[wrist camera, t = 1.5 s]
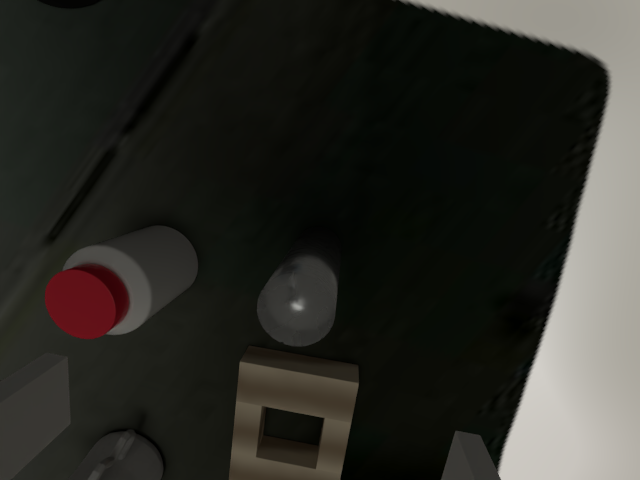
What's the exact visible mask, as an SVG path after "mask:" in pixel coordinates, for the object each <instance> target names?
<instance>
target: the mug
mask: <svg viewBox="0 0 640 480" xmlns="http://www.w3.org/2000/svg"><path fill="white" fill-rule="evenodd" d="M163 469H164V468H163V462H162V458H161V455H160V453H159V451H158V450H157V448H156V447H155V446H154V445H153V444H152V443H151V442H150V441H149V440H148V439H146V438H145V437H143V436H141V435H139V434H136V433H135V431H134V430H127V431H126V432H124V431H120V432H114V433H110V434H108V435H106V436H104V437H102V438H101V439H100V440H99V441H98V442H97V443H96V444H95V445H94V446H93V448H92V449H91V450H90V451H89V453H88V454H87V456H86V457H85V458H84V460H83V461H82V463H81V464H80V465H79V467H78V468H77V469H76V471H75V472H74V473H73V474H72V475H71V476H70V478H69V479H68V480H161V478H162V475H163Z"/></svg>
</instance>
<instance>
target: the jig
mask: <svg viewBox="0 0 640 480" xmlns="http://www.w3.org/2000/svg"><path fill="white" fill-rule="evenodd" d="M358 385H359V373H358V365H355V364H350V363H344V362H338V361H333V360H327V359H322V358H316V357H310V356H305V355H299V354H294V353H288V352H283V351H277V350H271V349H266V348H260V347H255V346H248V348H247V350H246V352H245V354H244V355H243V357H242V359H241V361H240V367H239V378H238V389H237V399H236V410H235V421H234V432H233V442H232V453H231V464H230V474H229V480H340V477H341V472H342V467H343V462H344V457H345V452H346V446H347V441H348V436H349V431H350V426H351V421H352V416H353V411H354V406H355V400H356V395H357V390H358ZM266 407H270V408H275V409H280V410H286V411H291V412H296V413H302V414H307V415H312V416H317V417H323V424H322V430H321V435H320V441H319V446H317V445H312V444H307V443H301V442H296V441H291V440H286V439H281V438H276V437H270V436H265V435H263V431H264V422H265V414H266Z"/></svg>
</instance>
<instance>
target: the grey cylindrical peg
mask: <svg viewBox="0 0 640 480" xmlns="http://www.w3.org/2000/svg"><path fill="white" fill-rule="evenodd" d="M341 252H342V247H341V242H340V240H339V238H338V236H337V235H336V234H335V233H334V232H333V231H331V230H330V229H328V228H325V227H320V226H316V227H311V228H308V229H306V230H305V231H304V232H302V233H301V235H300V236H299V237H298V239H297V240H296V242H295V243H294V245H293V246H292V247H291V249H290V250H289V252H288V253H287V255H286V256H285V258H284V259H283V261H282V262H281V263H280V265H279V266H278V268H277V269H276V271H275V272H274V274H273V275H272V276H271V278H270V279H269V281H268V282H267V284H266V285H265V287H264V288H263V290H262V291H261V293H260V295H259V298H258V303H257V313H258V317H259V320H260V323H261V325H262V326H263V328H264V329H265V331H266V332H267V333H268V334H269V335H270V336H271V337H273V338H274V339H275V340H277V341H279V342H281V343H284V344H286V345H290V346H306V345H310V344H313V343H315V342H317V341H319V340H321V339H322V338H323V337H324V336H325V335H326V334H327V333H328V332H329V331H330V329H331V327H332V325H333V322H334V318H335V310H336V300H337V291H338V281H339V271H340V262H341Z"/></svg>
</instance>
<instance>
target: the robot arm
mask: <svg viewBox="0 0 640 480" xmlns="http://www.w3.org/2000/svg"><path fill="white" fill-rule="evenodd" d="M38 1H40V2H42V3H45V4H48V5H51V6H55V7H62V8H76V7H82V6H86V5H90V4H92V3H95V2H97V1H99V0H38ZM70 424H71V422H70V400H69V378H68V357H66V356H61V355H56V354H51V353H45V354H43V355H42V356H40V357H39V358H37V359H35V360H34V361H32V362H31V363H29V364H27V365H26V366H24V367H23V368H21V369H20V370H18V371H16V372H15V373H13V374H12V375H10V376H8V377H7V378H5V379H4V380H2V381H0V480H11V479H12V478H13V477H14V476H15V475H16V474H17V473H18V472H19V471H20V470H21V469H22V468H23V467H25V466H26V465H27V464H28V463H29V462H30V461H31V460H32V459H33V458H34V457H35V456H36V455H37V454H39V453H40V452H41V451H42V450H43V449H44V448H45V447H46V446H47V445H48V444H49V443H50V442H51V441H52V440H54V439H55V438H56V437H57V436H58V435H59V434H60V433H61V432H62V431H63V430H64V429H65V428H66V427H67V426H69V425H70ZM441 480H501V479H500V477H499V475H498V473H497V470H496V468H495V466H494V464H493V462H492V460H491V458H490V456H489V453H488V451H487V449H486V447H485V445H484V443H483V441H482V439H481V437H480V435H475V434H470V433H465V432H460V431H455V435H454V438H453V441H452V445H451V448H450V452H449V455H448V458H447V462H446V465H445V469H444V472H443V475H442V479H441Z"/></svg>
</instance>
